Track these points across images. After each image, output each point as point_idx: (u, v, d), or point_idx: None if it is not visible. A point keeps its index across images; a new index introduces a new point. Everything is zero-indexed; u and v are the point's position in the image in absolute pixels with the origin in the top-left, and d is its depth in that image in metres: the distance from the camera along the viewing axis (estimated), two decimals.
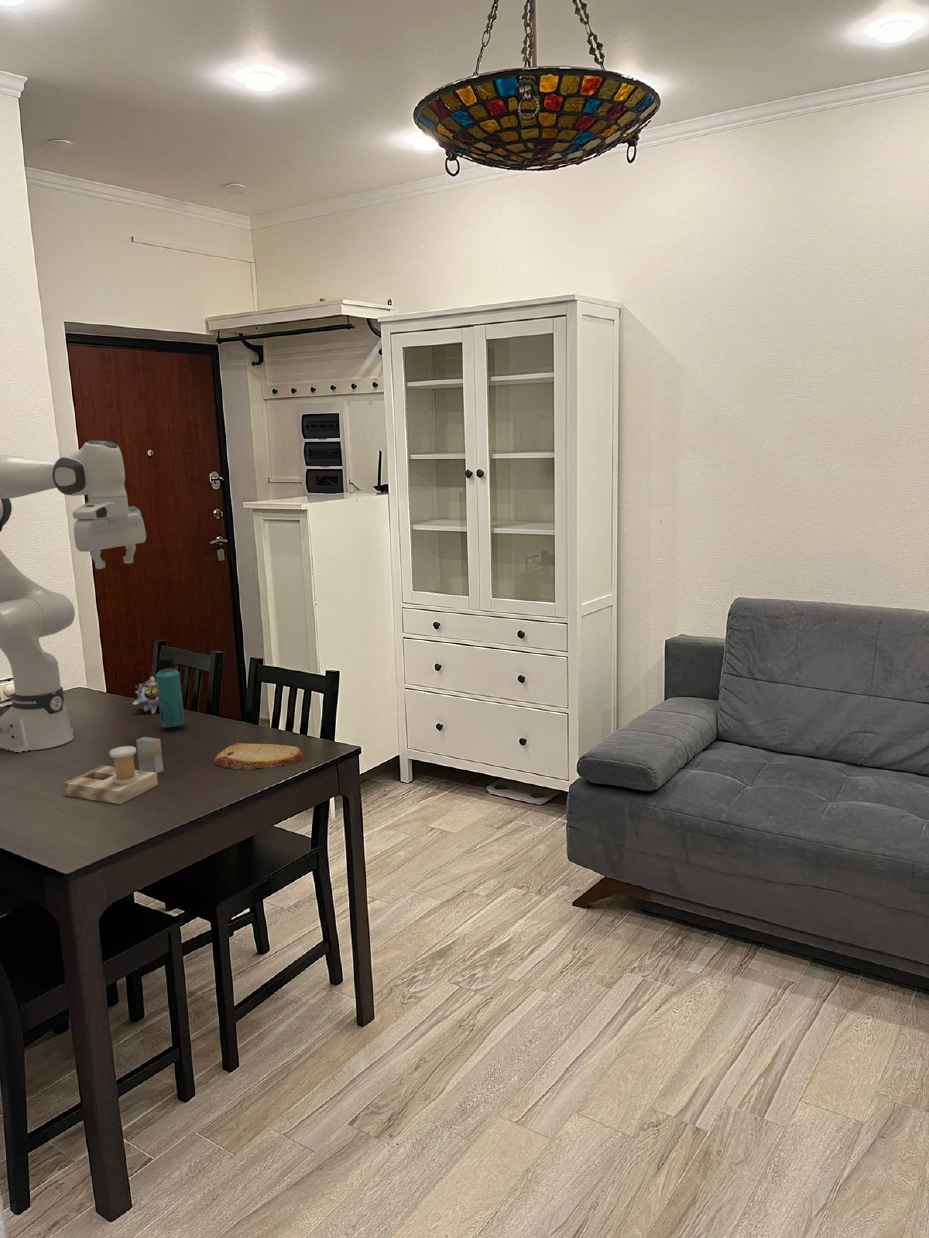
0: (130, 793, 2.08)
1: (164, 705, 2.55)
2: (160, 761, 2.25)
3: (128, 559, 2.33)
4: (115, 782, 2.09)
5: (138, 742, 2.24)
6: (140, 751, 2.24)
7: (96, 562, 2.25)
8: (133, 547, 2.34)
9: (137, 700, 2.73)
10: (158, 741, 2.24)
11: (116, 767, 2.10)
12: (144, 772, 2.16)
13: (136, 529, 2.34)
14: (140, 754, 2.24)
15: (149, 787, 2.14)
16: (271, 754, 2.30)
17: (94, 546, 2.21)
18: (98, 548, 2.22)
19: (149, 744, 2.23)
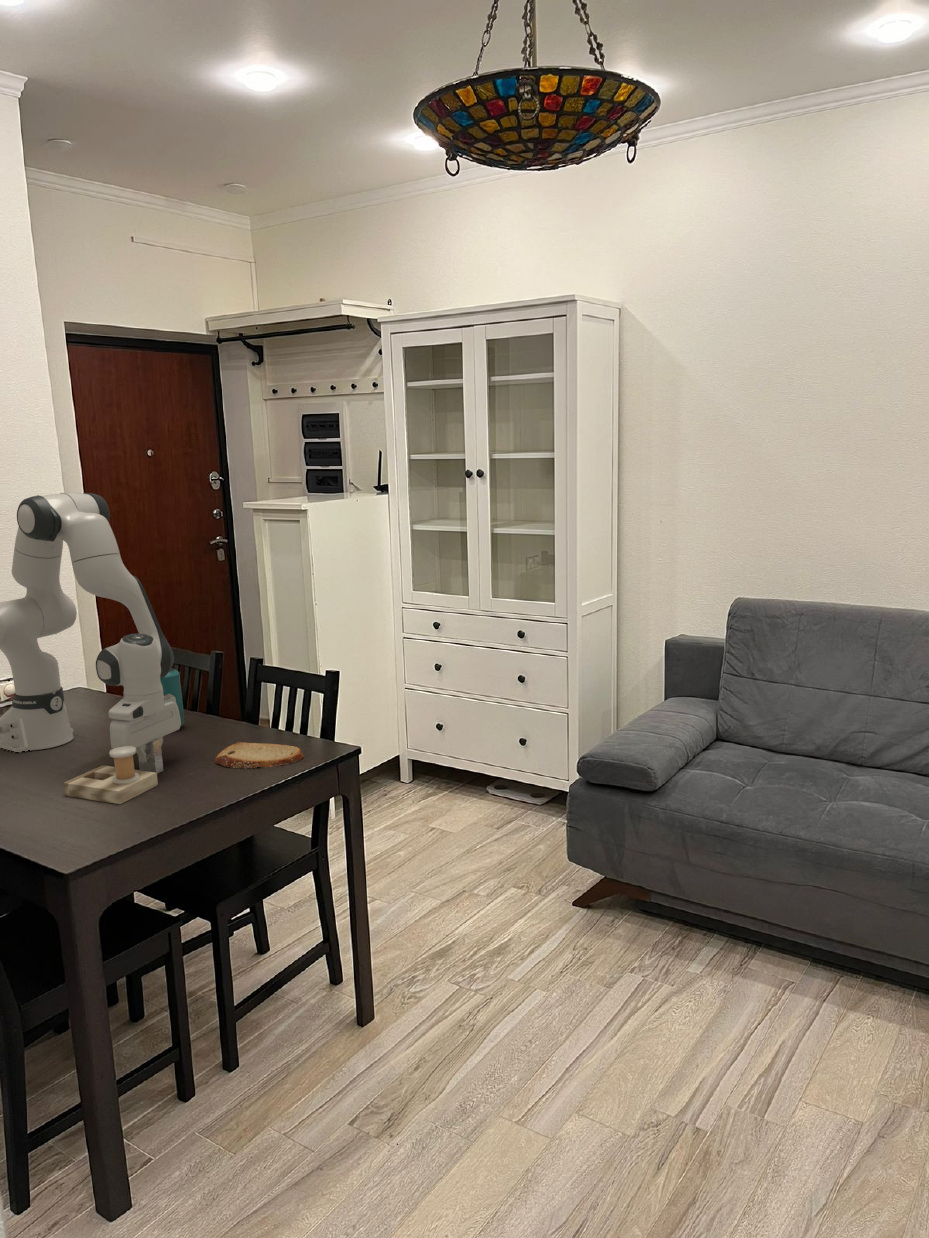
0: (130, 793, 2.08)
1: None
2: (160, 761, 2.25)
3: None
4: (115, 782, 2.09)
5: None
6: None
7: (140, 755, 2.23)
8: (160, 740, 2.27)
9: None
10: (158, 741, 2.24)
11: (116, 767, 2.10)
12: (144, 772, 2.16)
13: (171, 718, 2.29)
14: None
15: (149, 787, 2.14)
16: (272, 754, 2.30)
17: None
18: None
19: (149, 744, 2.23)
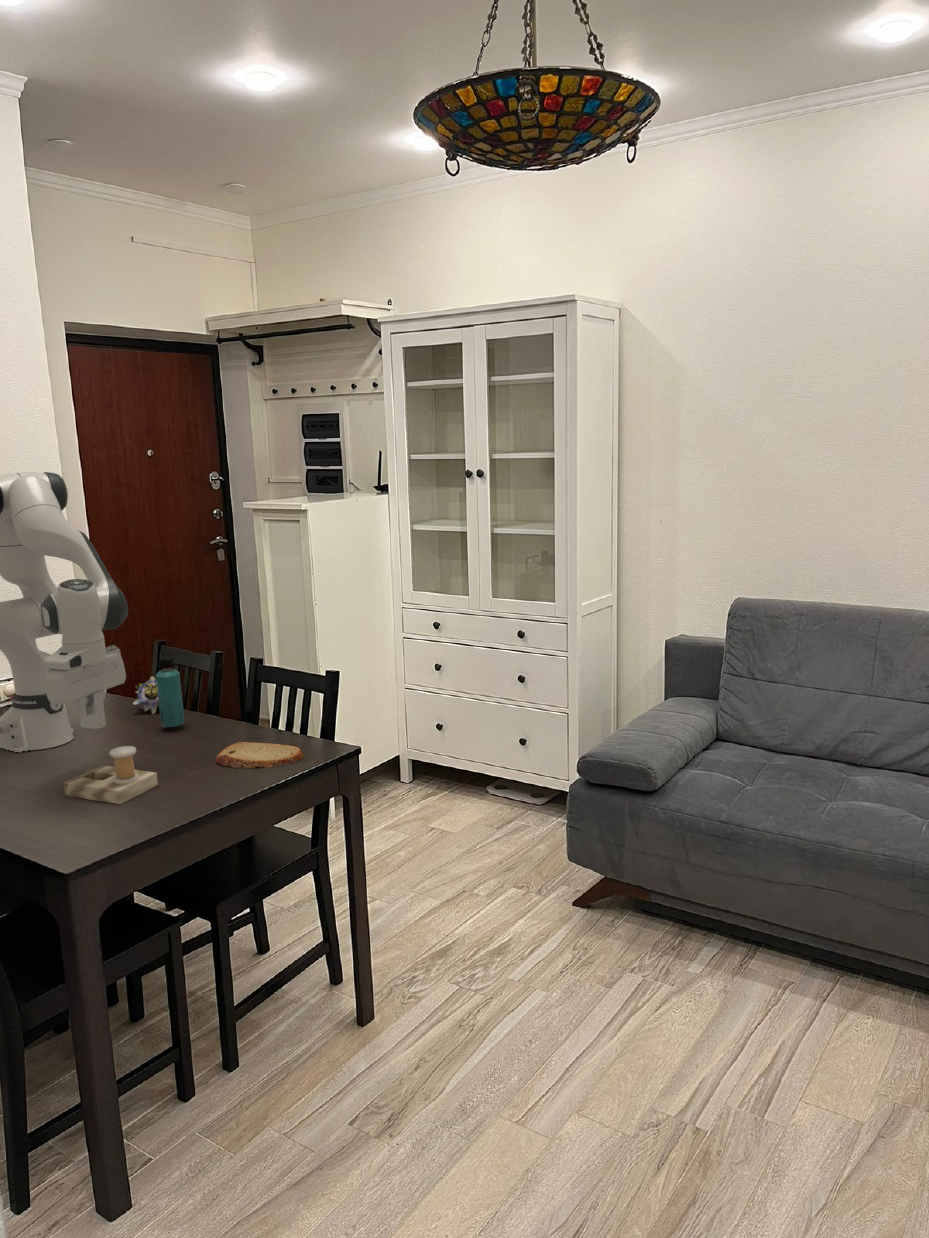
0: (130, 793, 2.08)
1: (164, 705, 2.55)
2: (102, 715, 2.12)
3: None
4: (115, 782, 2.09)
5: None
6: None
7: (80, 709, 2.09)
8: (103, 693, 2.14)
9: (137, 700, 2.73)
10: (100, 694, 2.11)
11: (116, 767, 2.10)
12: (144, 772, 2.16)
13: (115, 671, 2.16)
14: None
15: (149, 787, 2.14)
16: (272, 754, 2.30)
17: (68, 698, 2.03)
18: (72, 699, 2.05)
19: (90, 696, 2.09)
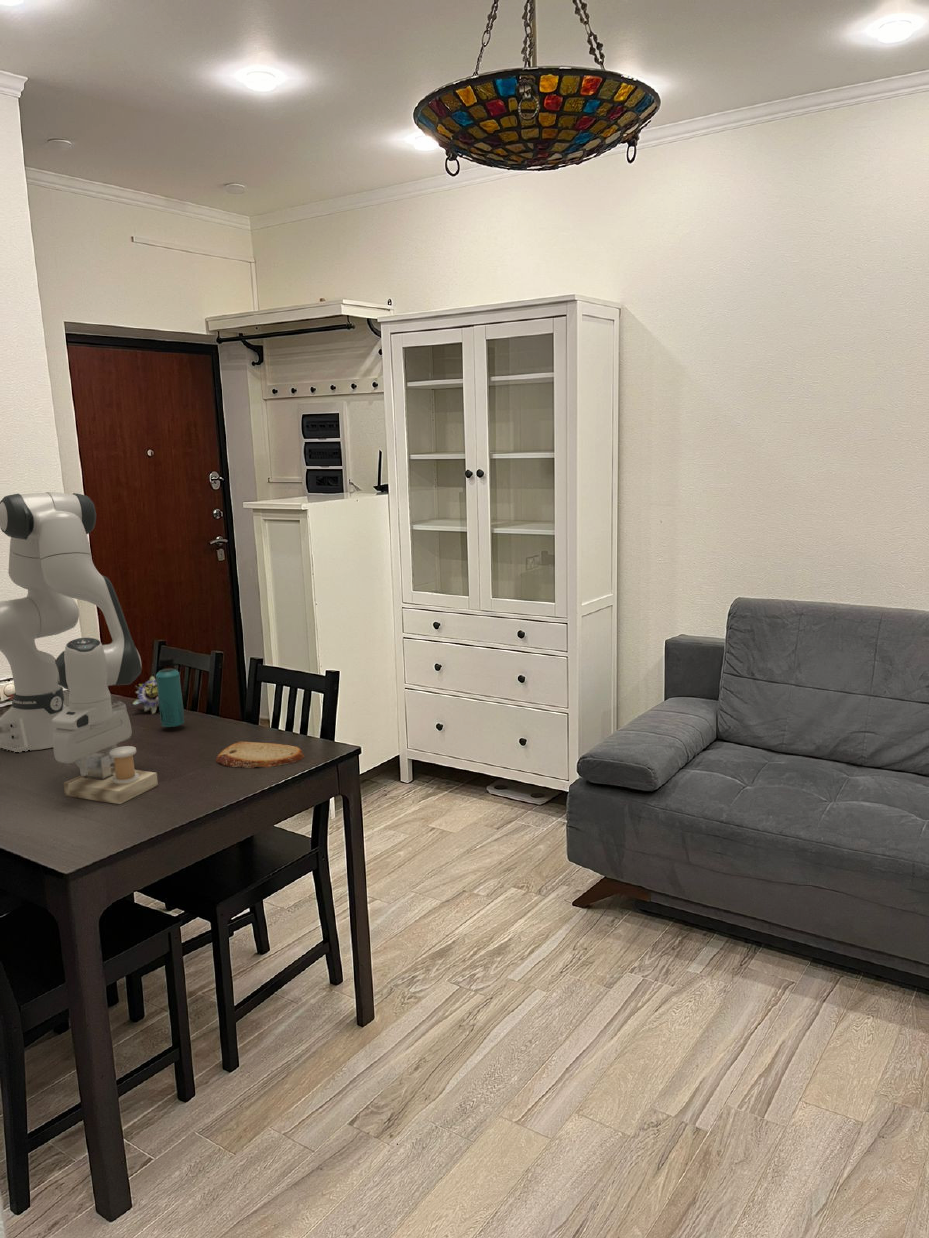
0: (130, 793, 2.08)
1: (164, 705, 2.55)
2: None
3: None
4: (115, 782, 2.09)
5: (86, 758, 2.14)
6: None
7: (81, 768, 2.11)
8: (114, 747, 2.18)
9: (137, 700, 2.73)
10: (107, 757, 2.14)
11: (116, 767, 2.10)
12: (144, 772, 2.16)
13: (121, 726, 2.18)
14: None
15: (149, 787, 2.14)
16: (272, 754, 2.30)
17: (75, 757, 2.06)
18: (79, 758, 2.07)
19: (97, 760, 2.12)
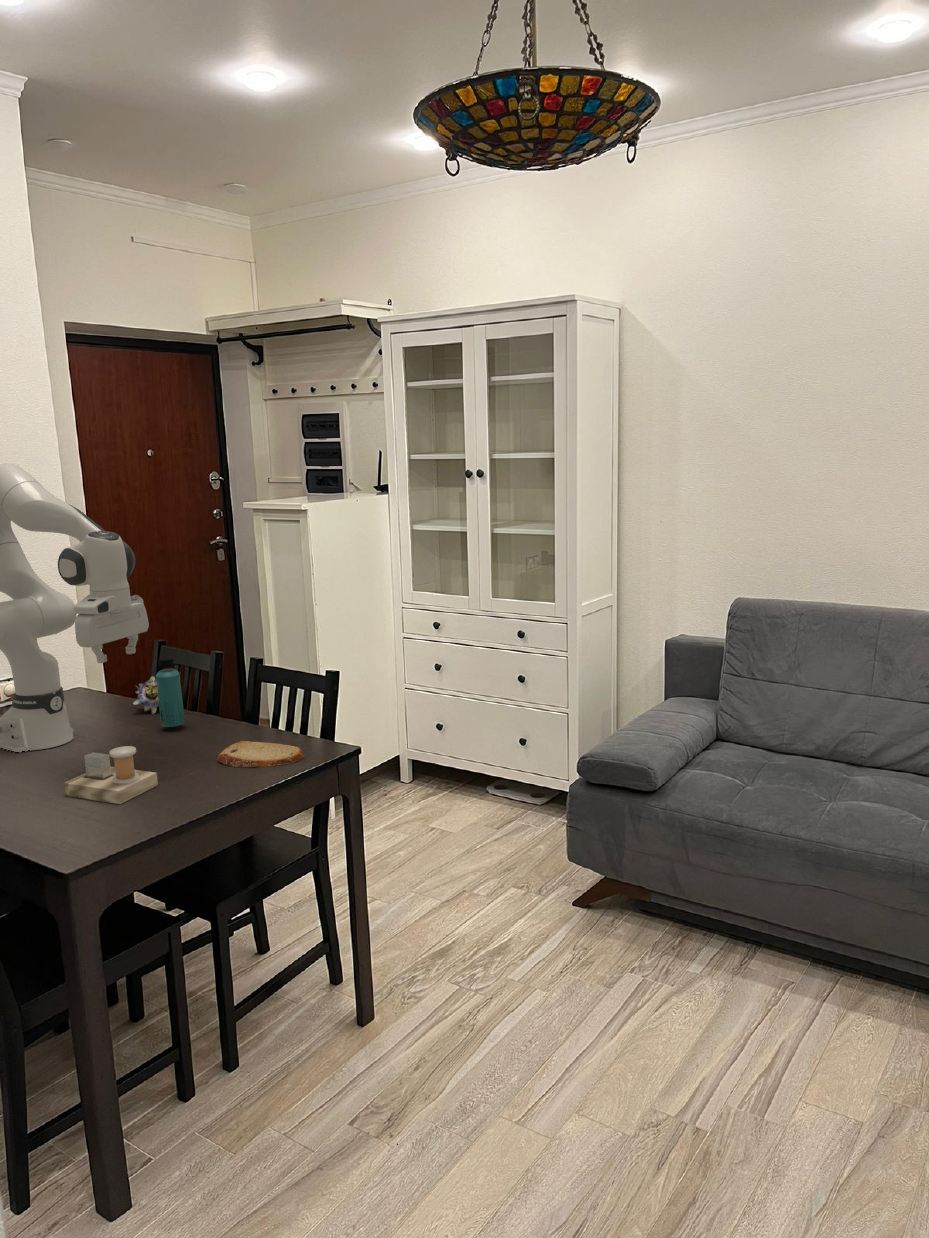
0: (130, 793, 2.08)
1: (164, 705, 2.55)
2: None
3: (130, 650, 2.28)
4: (115, 782, 2.09)
5: (86, 758, 2.14)
6: (88, 768, 2.14)
7: (98, 656, 2.19)
8: (135, 637, 2.29)
9: (137, 700, 2.73)
10: (107, 757, 2.14)
11: (116, 767, 2.10)
12: (144, 772, 2.16)
13: (138, 619, 2.28)
14: (89, 771, 2.14)
15: (149, 787, 2.14)
16: (272, 754, 2.31)
17: (96, 641, 2.16)
18: (100, 643, 2.17)
19: (97, 760, 2.12)
